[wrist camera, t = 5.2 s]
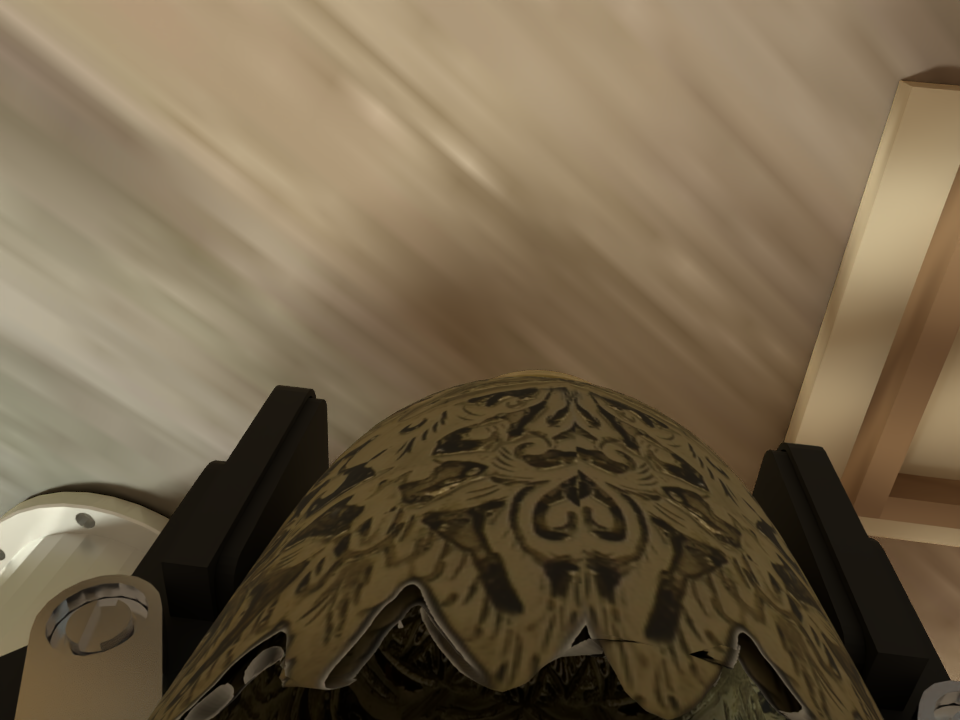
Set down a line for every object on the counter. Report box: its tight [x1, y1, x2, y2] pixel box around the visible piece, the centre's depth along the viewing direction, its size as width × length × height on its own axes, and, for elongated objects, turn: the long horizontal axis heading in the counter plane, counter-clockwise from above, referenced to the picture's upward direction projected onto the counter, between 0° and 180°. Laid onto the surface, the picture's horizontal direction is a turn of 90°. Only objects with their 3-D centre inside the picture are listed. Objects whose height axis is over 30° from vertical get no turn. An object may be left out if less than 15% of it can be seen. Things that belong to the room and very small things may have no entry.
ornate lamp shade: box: [148, 370, 884, 720], centre depth 10 cm, size 8×7×8 cm
